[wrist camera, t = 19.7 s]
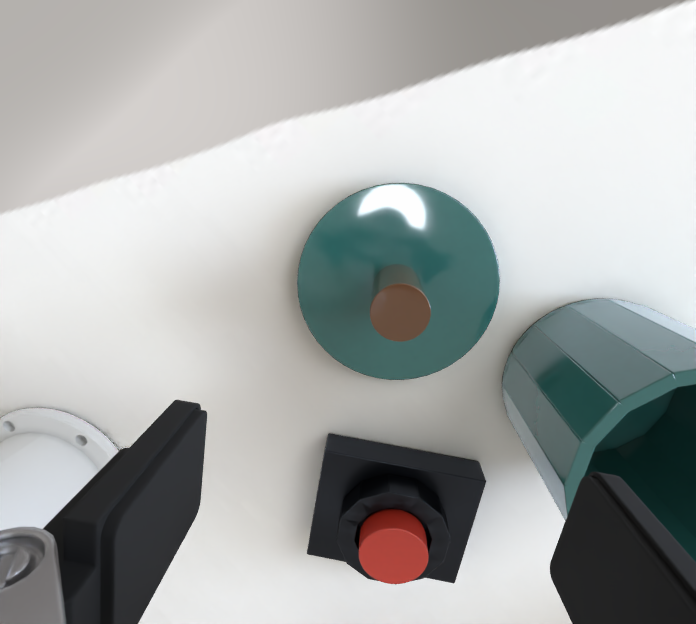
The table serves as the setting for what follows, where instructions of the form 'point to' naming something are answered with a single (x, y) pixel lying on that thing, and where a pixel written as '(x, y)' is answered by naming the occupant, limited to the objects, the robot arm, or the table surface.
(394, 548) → the release button
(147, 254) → the table surface
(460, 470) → the button housing
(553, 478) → the canister
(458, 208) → the lid
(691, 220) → the table surface
